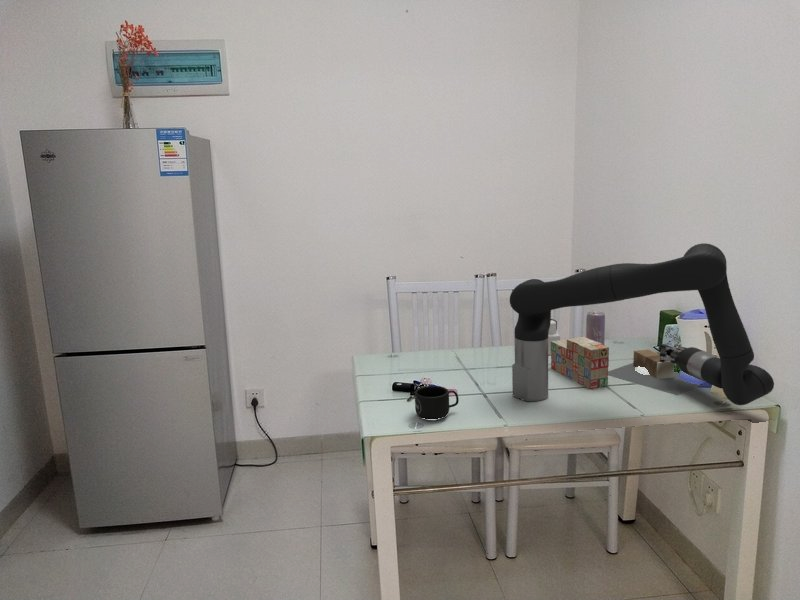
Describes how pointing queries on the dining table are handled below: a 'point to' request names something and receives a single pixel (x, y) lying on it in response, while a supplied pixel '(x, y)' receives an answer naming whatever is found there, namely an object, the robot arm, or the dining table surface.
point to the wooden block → (653, 364)
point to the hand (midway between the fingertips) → (661, 347)
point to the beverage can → (595, 326)
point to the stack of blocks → (581, 361)
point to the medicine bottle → (552, 334)
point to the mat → (652, 380)
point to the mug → (433, 402)
